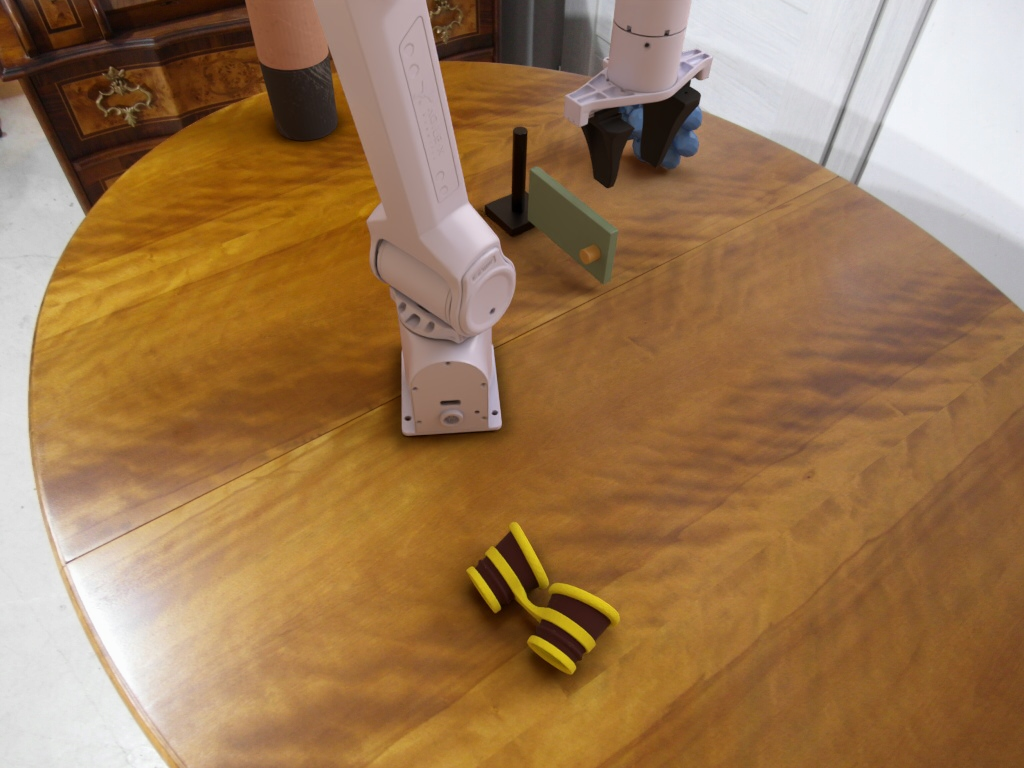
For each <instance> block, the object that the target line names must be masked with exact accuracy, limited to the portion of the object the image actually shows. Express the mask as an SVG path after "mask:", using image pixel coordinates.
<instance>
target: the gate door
mask: <svg viewBox="0 0 1024 768" xmlns="http://www.w3.org/2000/svg"><path fill="white" fill-rule="evenodd" d="M528 179H529V180H528V194H529V199H528V220H529V221H530V222H531V223H532V224H533V225H534V226H535V227H534V228H537V230H539V231H540V232H541V233H542V234H543V235H545V236H546V237H547V238H548V239H549V240H550V241H552V242H553V243H554V244H555V245H556V246H558V248H560V249H561V250H562V251H563V252H564V253H565V254H567V256H569V257H570V258H571V259H572V260H574V261H575V262H576V263H577V264H578V265H579V266H581V267H582V268H583V269H584V270H585V271H586V272H587V273H589V274H590V275H591V276H592V277H593V278H594V279H596V280H597V281H598V282H599V283H600V284H602V285H603V286H604V285H606V284H609V283H610V282H611V281H612V276H613V269H614V263H615V257H616V249H617V243H618V237H619V236H618V235H619V229H618V228H617V227H615V226H614V225H613V224H612V223H610V222H609V221H608V220H606V219H605V218H604V217H603V216H601V215H600V214H599V213H598V212H596V210H594V209H592V207H590V206H589V205H588V204H586V203H585V202H584V201H582V199H580V198H579V197H577V196H576V195H575V194H574V193H572V192H571V191H570V190H569V189H568V188H566V187H565V186H564V185H562V184H561V183H560V182H559V181H557V180H556V179H555V178H554V177H552V176H551V175H549V174H548V173H547V172H546V171H544V170H543V169H542V168H541V167H540V166H533V167H532V168H529V177H528Z"/></svg>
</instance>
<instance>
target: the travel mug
mask: <svg viewBox="0 0 1024 768" xmlns="http://www.w3.org/2000/svg"><path fill="white" fill-rule="evenodd" d="M244 1H245V6H246V10H247V11H246V12H247V14H248V19H249V24H250V28H251V29H250V30H251V32H252V38H253V42H254V46H255V51H256V55H257V58H258V59H257V60H258V62H259V67H260V71H261V74H262V78H263V83H264V85H265V86H264V87H265V89H266V93H267V96H268V101H269V104H270V108H271V111H272V116H273V119H274V123H275V126H276V129H277V130H278V132H279V134H280V135H281V136H283V137H284V138H286V139H289V140H293V141H300V142H301V141H302V142H304V141H306V142H307V141H314V140H318V139H322V138H325V137H326V136H329V135H331V133H333V132H334V131H335V130H336V128H338V127H337V126H338V112H337V104H336V96H335V89H334V82H333V81H334V80H333V73H332V66H331V65H332V64H331V59H330V50H329V47H328V44H327V41H326V38H325V35H324V32H323V29H322V26H321V23H320V20H319V17H318V14H317V12H316V9H315V6H314V3H313V0H244Z"/></svg>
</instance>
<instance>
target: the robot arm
mask: <svg viewBox="0 0 1024 768" xmlns="http://www.w3.org/2000/svg"><path fill="white" fill-rule="evenodd" d="M614 1H615V2H614V9H613V18H612V29H611V36H610V44H609V53H608V56H606V57H604V58H603V60H602V68H603V69H602V70H601V71H599V72H598V73H597V74H596V75H594V76H593V77H592V78H591V79H589V80H588V81H587V82H586V83H584V84H583V85H582V86H580V87H578V89H576V90H574V91H572V92H569V93H567V94H565V95H564V105H563V106H564V107H563V118H564V119H565V120H567V121H568V122H569V123H571V124H572V125H574V126H575V127H577V128H580V129H581V131H582V133H583V136H584V139H585V141H586V145H587V147H588V152H589V157H590V162H591V168H592V176H593V179H594V180H595V181H596V182H598V183H599V184H600V185H601V186H602V187H604V188H606V189H611V188H613V187H614V186H615V184H616V181H617V178H618V176H619V175H618V174H619V170H620V165H621V160H622V156H623V154H624V153H623V152H624V150H625V148H626V145H627V143H628V141H629V140H628V139H629V137H630V135H631V134H632V132H633V131H634V129H635V128H634V127H633V126H631V125H630V124H629V123H627V122H626V121H624V120H623V119H622V113H619V107H621V106H629V105H636V104H643V126H642V135H641V144H640V156H641V159H643V160H644V161H646V162H645V163H647V164H648V165H649V166H651V167H653V168H654V169H657V168H659V167H661V164H662V162H663V160H664V158H665V156H666V154H667V151H668V149H669V147H670V145H671V143H672V141H673V140H674V138H675V136H676V134H677V132H678V131H679V129H680V128H681V126H682V125H683V123H684V122H685V120H686V119H687V118H688V117H689V115H690V114H691V113H692V112H693V111H694V110H695V109H696V108H697V107H698V106H699V107H700V103H701V98H702V94H701V92H700V91H698V90H697V89H696V88H694V87H692V86H691V84H692V80H693V79H695V80H697V81H700V82H701V81H705V80H707V79H709V78H710V74H711V70H712V64H713V60H714V56H713V55H711V54H709V53H708V52H706V51H704V50H702V49H700V48H699V47H696V48H692V49H688V50H684V44H685V39H686V32H687V27H688V24H689V17H690V13H691V8H692V2H693V0H614ZM313 3H314V6H315V9H316V12H317V14H318V17H319V20H320V23H321V26H322V29H323V32H324V35H325V38H326V41H327V44H328V50H329V54H330V56H331V58H332V62H333V63H334V67H335V70H336V73H337V76H338V78H339V81H340V85H341V87H342V90H343V93H344V96H345V100H346V102H347V106H348V108H349V111H350V114H351V117H352V120H353V123H354V126H355V128H356V131H357V134H358V138H359V140H360V143H361V146H362V150H363V153H364V155H365V158H366V161H367V164H368V167H369V169H370V172H371V176H372V178H373V182H374V184H375V187H376V191H377V192H378V196H379V200H380V202H379V203H378V204H377V205H376V207H375V208H374V210H373V211H372V212H371V214H370V215H369V217H367V219H366V226H367V228H368V231H369V235H370V248H369V266H370V267H369V268H370V270H371V272H372V274H373V275H374V276H375V278H376V279H377V280H379V281H380V282H382V283H384V284H387V285H389V286H388V287H389V294H390V299H391V300H392V301H394V303H395V305H396V312H397V319H398V328H399V335H400V343H401V356H400V357H401V432H402V434H403V435H404V436H405V437H407V436H408V437H410V436H411V437H412V436H425V435H440V434H441V435H442V434H457V433H471V432H485V431H486V432H489V431H498V430H500V429H501V428H502V427H503V421H502V412H501V402H500V394H499V385H498V384H499V383H498V376H497V367H496V358H495V348H494V344H493V327H494V325H496V324H497V323H498V322H499V321H500V320H501V318H503V316H504V314H505V313H506V311H507V310H508V309H509V307H510V305H511V302H512V300H513V297H514V295H515V291H516V281H517V280H516V279H517V272H516V267H515V265H514V263H513V261H512V260H511V259H509V258H508V257H507V256H506V255H505V254H504V252H503V249H502V247H501V239H500V238H499V237H498V235H497V234H496V233H495V232H494V230H493V229H492V228H491V227H490V225H489V224H488V223H487V222H486V221H485V219H484V218H483V217H482V216H481V215H480V214H479V213H478V211H477V210H476V209H475V208H474V206H473V205H472V204H471V203H470V201H469V196H468V192H467V188H466V182H465V179H464V173H463V168H462V164H461V160H460V155H459V150H458V145H457V141H456V136H455V131H454V127H453V121H452V117H451V112H450V108H449V103H448V98H447V92H446V89H445V84H444V79H443V75H442V69H441V65H440V61H439V55H438V51H437V46H436V42H435V38H434V37H435V36H434V31H433V28H432V27H433V26H432V23H431V19H430V13H429V9H428V4H427V0H313Z"/></svg>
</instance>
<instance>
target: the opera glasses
mask: <svg viewBox="0 0 1024 768" xmlns="http://www.w3.org/2000/svg"><path fill="white" fill-rule="evenodd" d="M508 531H509V532H508V533H506V535H504V537H502V539H501V540H500V541H499V542H498V543H497V544H496V545H495V546H493V545H490V547H489V548H488V549H487V550H486V551H485V552H484V558H483V559H478V561H477V565H476V566H475V567H474V566H469V567H468V568H467V569H466V570H465V573H466V574H467V576H468V577H469V579H470V580H471V582H472V583H473V586H474V587H475V588H476V590H477V592H478V593H479V594H480V595H481V597H482V599H483V600H484V601H485V603H486V604H487V605H488V607H489V608H490V610H492V612H493V613H494V614H497V613H499V612H500V611H501V610H502V605H505V604H506V605H510V604H511V601H513V600H515V601H516V602H517V603H518V604H519V605H520V606H521V607H523V609H524V610H525V611H526V612H527V613H528V614H529V615H531V616H532V617H533V618H534V619H535V620H536V622H538V623H539V624H538V625H536V626H535V631H536V632H535V635H533V634H532V635H530V636H529V637H528V639H527V641H526V644H527V646H528V648H530V649H531V651H533V652H534V653H535V654H537V655H538V656H539V657H540V658H541V659H543V660H544V661H546V663H549V664H550V665H551V666H553V667H554V668H556V669H558V670H559V671H561V672H563V673H565V674H567V675H570V676H571V675H574V673H575V671H576V670H577V666H576V663H577V662H579V661H580V662H581V661H582V660H583V655H584V654H589V653H590V652H591V651H592V650H593V649H595V647H596V646H597V644H596V641H597V640H598V638H600V637H601V635H602V634H603V633H604V632H605V631H606V630H607V629H611V628H615V627H616V626H618V625H619V623H620V621H621V616H620V614H619V612H618V611H617V610H616V609H615V607H613V606H611V605H610V604H609V603H607V602H606V601H605V600H603V599H602V598H600V597H598V596H597V595H594V594H592V593H590V592H588V591H586V590H584V589H582V588H579V587H577V586H574V585H570V584H567V583H562V582H554V583H553V584H551V585H550V582H549V578H548V576H547V573H546V572H545V570H544V568H543V565H542V563H541V561H540V559H539V558H538V556H537V554H536V552H535V550H534V549H533V547H532V545H531V543H530V541H529V540H528V538H527V536H526V534H525V532H524V530H523V529H522V528H521V526H520V525H519V523H518V522H516V521H512V522H510V524H509V525H508ZM549 585H550V586H549ZM536 589H539V590H541V591H544V590H546V589H548V596H549V597H550V598H549V601H548V602H547V606H546V607H544V606H537V605H535V604H533V603H532V602H531V601H530V600H529V598H528V596H527V593H529V592H532V591H533V590H536Z"/></svg>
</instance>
